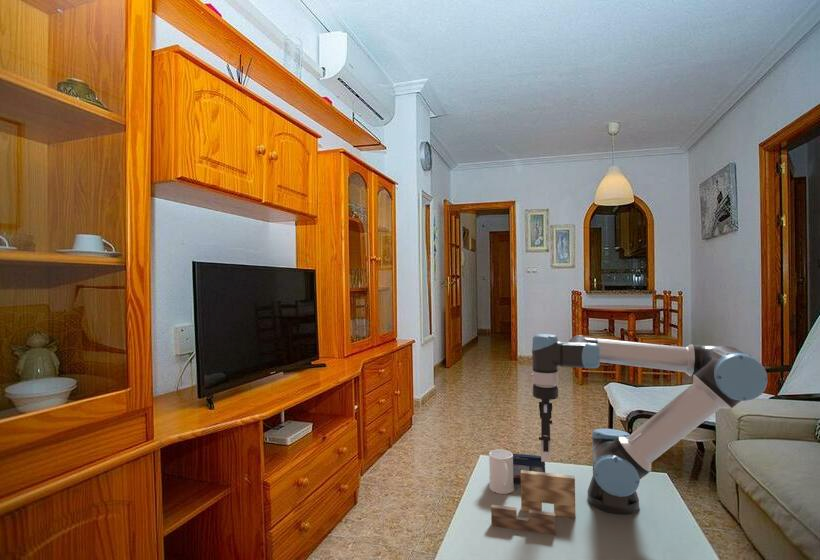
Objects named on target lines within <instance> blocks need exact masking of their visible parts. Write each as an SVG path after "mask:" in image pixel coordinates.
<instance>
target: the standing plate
mask: <svg viewBox="0 0 820 560" xmlns="http://www.w3.org/2000/svg"><path fill="white" fill-rule="evenodd" d="M490 513H491V514H490V515H491V516H490V517H491V518H490V519H491V521H490V522H491V526H493V527H496V528H497V527H499V528H504V529H512V530H518V531H519V530H520V531H526V532H531V533H540V534H546V535H553V536H556V515H555V513H554V512H550V511H545V510H544V511H543V510H542V511H537V510H529V512H528V517H525V516H517V513H518V512H517V507H514V506H505V505H498V504H491V506H490Z"/></svg>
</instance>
